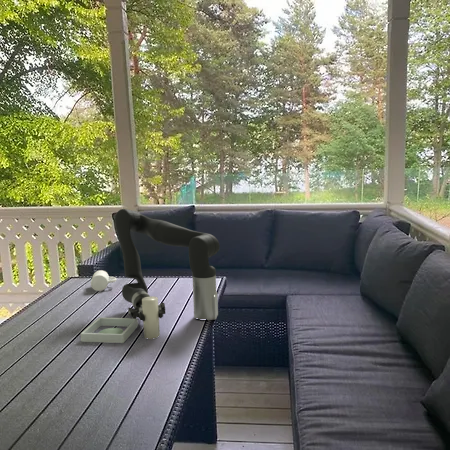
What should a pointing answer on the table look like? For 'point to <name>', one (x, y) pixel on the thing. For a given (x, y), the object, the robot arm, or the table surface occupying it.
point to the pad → (112, 331)
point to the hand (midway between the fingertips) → (152, 317)
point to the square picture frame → (109, 338)
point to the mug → (101, 280)
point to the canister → (151, 317)
